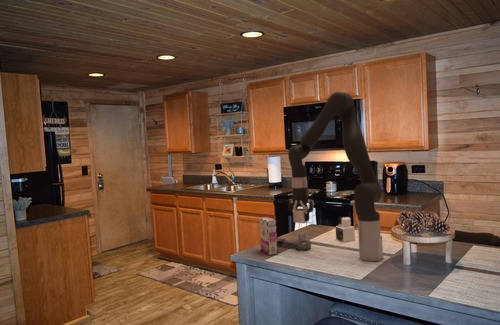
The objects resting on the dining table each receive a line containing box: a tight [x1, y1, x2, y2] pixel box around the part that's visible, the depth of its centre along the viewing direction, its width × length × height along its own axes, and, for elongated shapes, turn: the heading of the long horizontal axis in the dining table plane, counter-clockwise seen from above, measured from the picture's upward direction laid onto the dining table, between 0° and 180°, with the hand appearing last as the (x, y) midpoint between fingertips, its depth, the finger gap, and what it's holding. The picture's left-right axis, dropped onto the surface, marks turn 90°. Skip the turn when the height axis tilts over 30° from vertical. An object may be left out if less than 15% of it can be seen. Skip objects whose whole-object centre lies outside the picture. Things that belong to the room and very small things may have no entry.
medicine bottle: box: [335, 216, 356, 243], centre depth 199 cm, size 7×7×12 cm
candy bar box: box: [259, 216, 279, 256], centre depth 185 cm, size 11×5×16 cm, turn 18°
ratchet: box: [277, 232, 312, 252], centre depth 192 cm, size 22×8×8 cm, turn 55°
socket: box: [292, 207, 310, 224], centre depth 187 cm, size 6×6×6 cm
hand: (301, 220), depth 187 cm, fingers closed on socket, 5 cm apart
